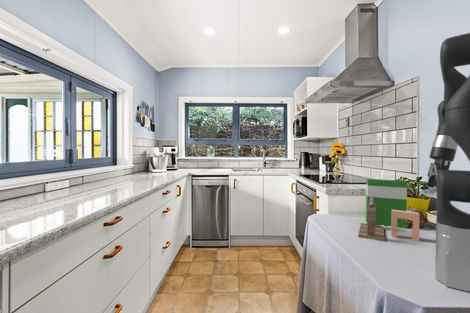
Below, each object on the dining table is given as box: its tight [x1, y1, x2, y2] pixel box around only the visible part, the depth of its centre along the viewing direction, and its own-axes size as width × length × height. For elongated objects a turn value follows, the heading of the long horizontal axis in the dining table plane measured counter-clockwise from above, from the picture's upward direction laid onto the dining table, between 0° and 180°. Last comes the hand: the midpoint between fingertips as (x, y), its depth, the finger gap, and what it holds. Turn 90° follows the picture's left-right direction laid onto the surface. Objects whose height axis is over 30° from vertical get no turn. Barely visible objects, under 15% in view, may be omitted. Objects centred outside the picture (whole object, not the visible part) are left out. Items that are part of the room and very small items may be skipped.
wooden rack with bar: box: [357, 197, 385, 242], centre depth 113 cm, size 21×10×16 cm, turn 149°
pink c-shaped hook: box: [390, 210, 420, 242], centre depth 106 cm, size 3×10×12 cm, turn 59°
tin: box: [407, 207, 426, 227], centre depth 128 cm, size 15×3×8 cm, turn 168°
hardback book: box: [365, 178, 408, 230], centre depth 126 cm, size 18×7×24 cm, turn 66°
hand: (433, 187), depth 94 cm, fingers open, 8 cm apart
